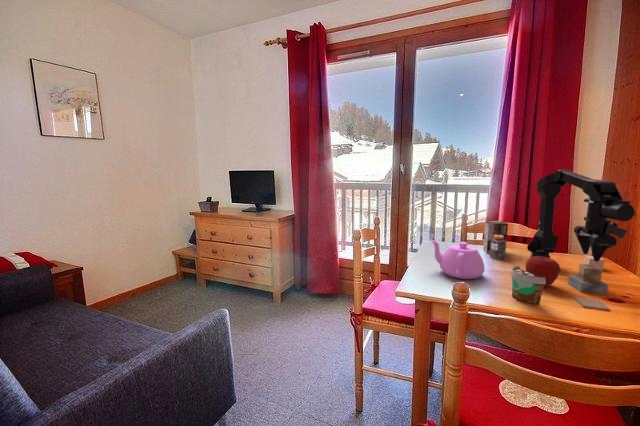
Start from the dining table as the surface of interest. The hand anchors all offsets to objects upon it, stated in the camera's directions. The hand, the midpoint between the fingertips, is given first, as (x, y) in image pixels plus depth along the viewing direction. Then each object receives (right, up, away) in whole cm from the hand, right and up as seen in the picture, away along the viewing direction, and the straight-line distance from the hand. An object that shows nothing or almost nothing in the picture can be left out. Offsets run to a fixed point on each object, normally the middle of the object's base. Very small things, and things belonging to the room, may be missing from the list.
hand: (590, 257), depth 112 cm
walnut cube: (0, -8, 0) cm, 8 cm away
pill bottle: (-13, -6, +38) cm, 40 cm away
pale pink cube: (+21, -8, +23) cm, 32 cm away
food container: (-31, -14, -7) cm, 34 cm away
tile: (-10, -14, -11) cm, 20 cm away
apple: (-15, -12, +5) cm, 20 cm away
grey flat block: (-1, -12, +1) cm, 12 cm away
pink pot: (-42, -10, +18) cm, 47 cm away
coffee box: (-9, -4, +47) cm, 48 cm away
